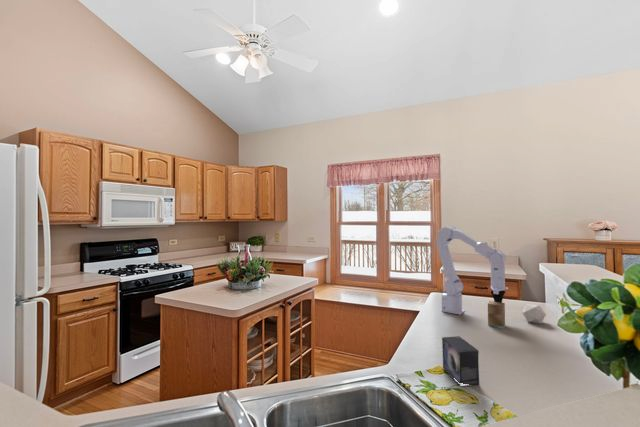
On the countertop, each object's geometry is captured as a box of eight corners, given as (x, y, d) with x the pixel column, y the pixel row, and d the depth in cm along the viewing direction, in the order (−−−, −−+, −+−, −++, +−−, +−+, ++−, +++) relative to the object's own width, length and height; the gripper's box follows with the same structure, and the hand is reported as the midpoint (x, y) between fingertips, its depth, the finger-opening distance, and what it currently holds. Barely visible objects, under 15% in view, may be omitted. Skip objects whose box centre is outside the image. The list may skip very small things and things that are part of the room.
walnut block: (488, 325, 132) (487, 303, 132) (489, 322, 136) (489, 300, 136) (503, 328, 128) (503, 305, 129) (505, 325, 132) (504, 303, 132)
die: (543, 321, 138) (528, 302, 143) (554, 318, 130) (538, 298, 135) (528, 328, 137) (514, 309, 142) (538, 325, 129) (523, 305, 134)
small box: (441, 368, 96) (440, 336, 96) (460, 367, 97) (459, 335, 97) (459, 387, 85) (458, 351, 86) (480, 385, 86) (479, 350, 86)
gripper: (506, 281, 129) (506, 312, 129) (509, 275, 141) (510, 303, 141) (487, 279, 134) (488, 309, 133) (492, 274, 145) (493, 301, 145)
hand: (498, 306), depth 137 cm, fingers closed
